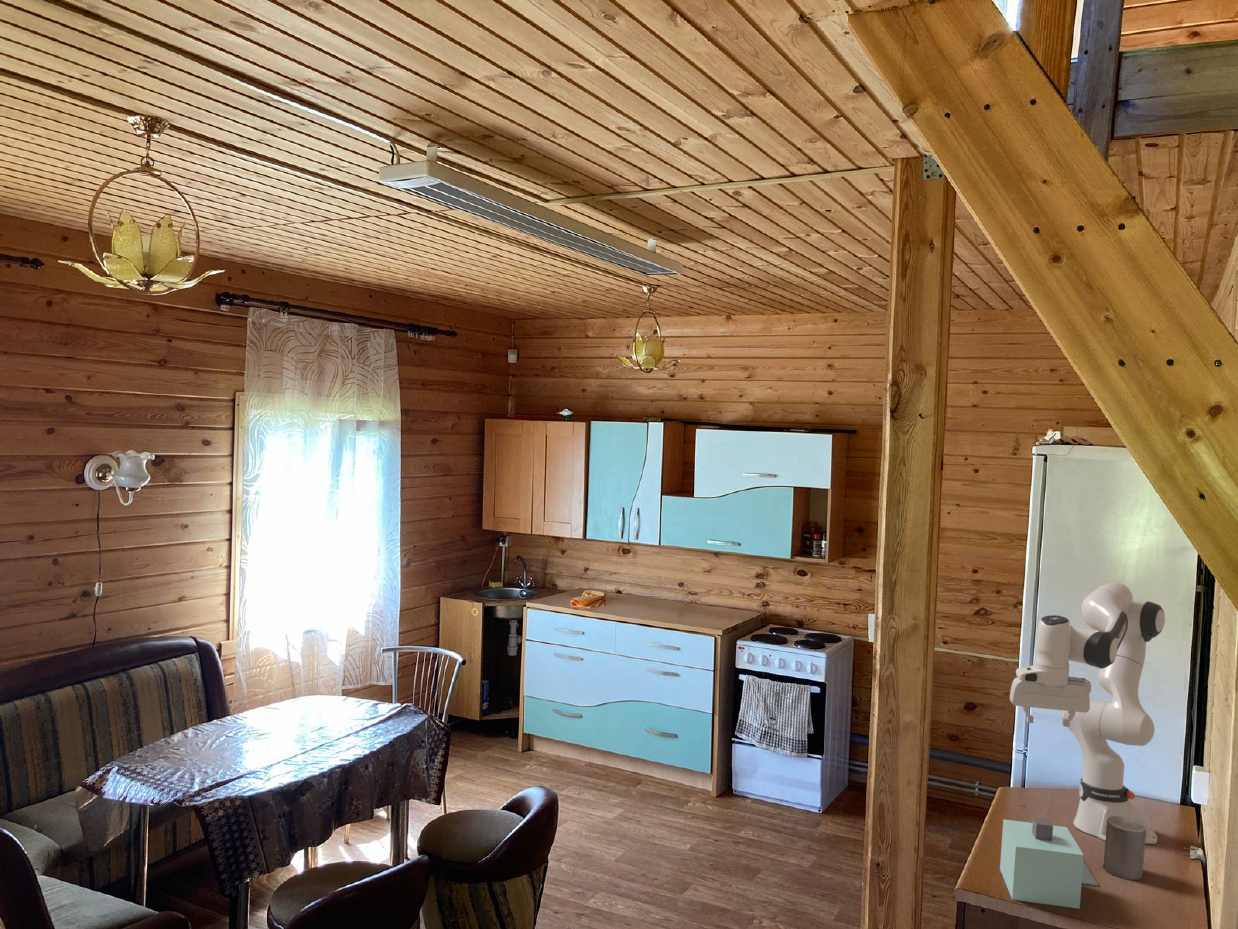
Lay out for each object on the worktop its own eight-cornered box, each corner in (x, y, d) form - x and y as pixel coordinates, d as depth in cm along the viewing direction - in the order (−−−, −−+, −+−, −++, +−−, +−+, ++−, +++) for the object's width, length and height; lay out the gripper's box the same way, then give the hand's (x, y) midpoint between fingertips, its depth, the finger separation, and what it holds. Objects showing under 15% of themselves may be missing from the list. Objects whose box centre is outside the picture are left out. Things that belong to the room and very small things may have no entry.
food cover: (1062, 877, 250) (1067, 812, 248) (1079, 909, 234) (1084, 839, 233) (999, 869, 253) (1004, 805, 252) (1012, 899, 237) (1016, 831, 236)
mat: (1078, 855, 265) (1078, 853, 265) (1098, 886, 246) (1098, 885, 246) (1007, 845, 269) (1007, 844, 269) (1022, 876, 250) (1022, 875, 250)
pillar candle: (1094, 865, 259) (1099, 813, 258) (1120, 861, 262) (1125, 809, 261) (1125, 882, 249) (1129, 828, 249) (1151, 878, 253) (1155, 824, 252)
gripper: (1088, 675, 258) (1085, 725, 258) (1010, 668, 262) (1007, 717, 263) (1095, 681, 252) (1091, 732, 252) (1014, 674, 256) (1011, 723, 256)
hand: (1047, 724), depth 257 cm, fingers open, 8 cm apart
